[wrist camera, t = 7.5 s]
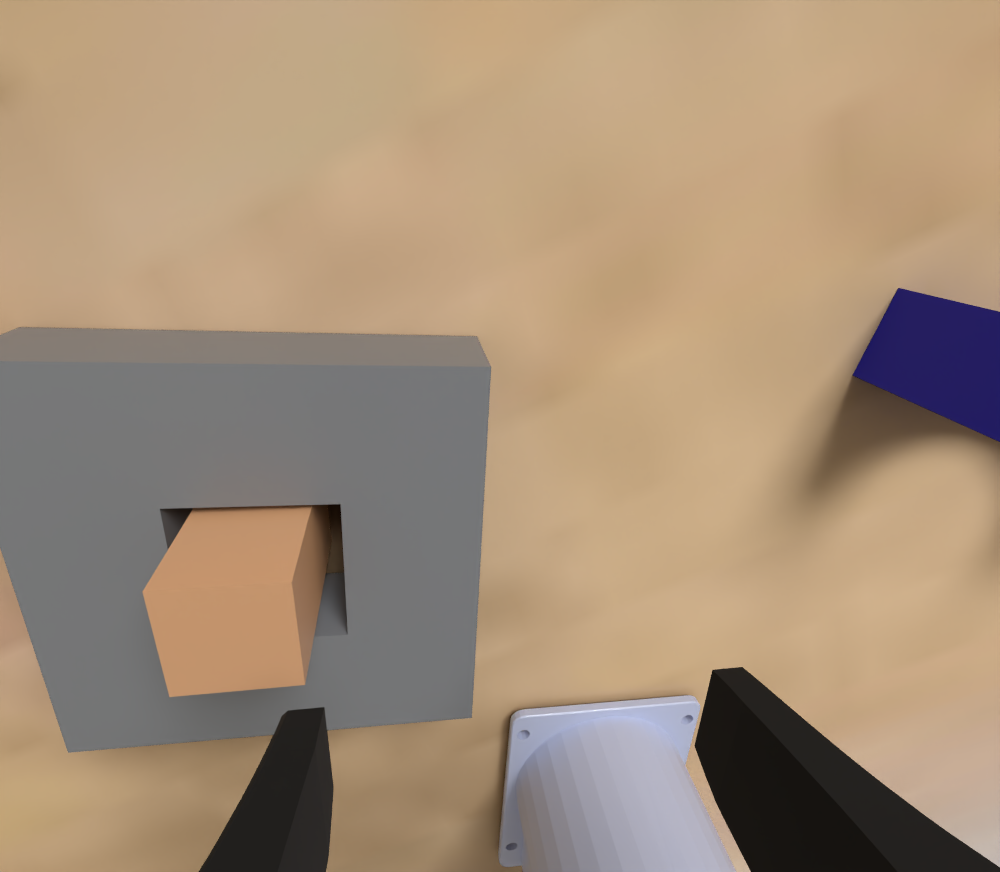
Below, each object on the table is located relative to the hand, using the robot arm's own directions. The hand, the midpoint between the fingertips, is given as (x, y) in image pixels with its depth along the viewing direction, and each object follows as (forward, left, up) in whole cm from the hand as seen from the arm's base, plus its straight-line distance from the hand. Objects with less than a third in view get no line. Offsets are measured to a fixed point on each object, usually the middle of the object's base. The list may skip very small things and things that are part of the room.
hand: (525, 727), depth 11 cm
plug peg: (-1, +6, -9) cm, 11 cm away
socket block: (-1, +6, -9) cm, 11 cm away
